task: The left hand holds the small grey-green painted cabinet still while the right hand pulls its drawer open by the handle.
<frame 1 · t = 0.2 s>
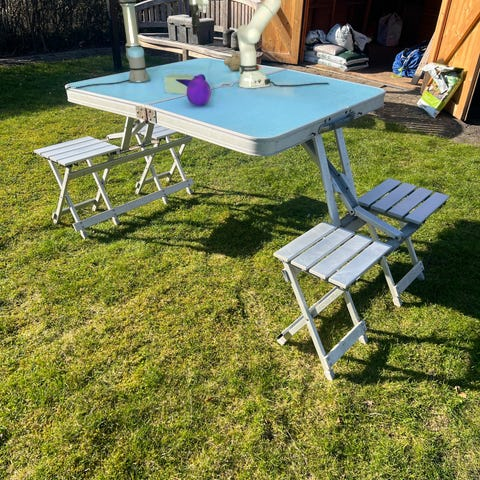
left hand: (196, 35, 349), 28 cm above the table, tool pointing down, fingers open, 13 cm apart
right hand: (202, 12, 285), 48 cm above the table, tool pointing down, fingers open, 8 cm apart
cabinet: (182, 91, 305), on the table
teapot: (235, 70, 370), on the table
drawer: (189, 84, 301), point 5 cm above the table, slide at 0.5 cm
toy: (195, 103, 276), on the table
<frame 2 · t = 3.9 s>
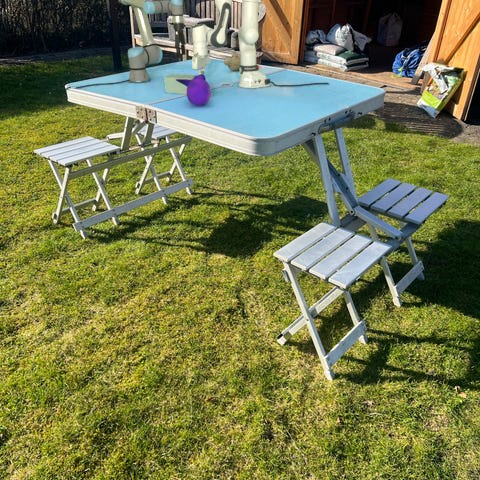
left hand: (181, 56, 315), 19 cm above the table, tool pointing down, fingers open, 13 cm apart
right hand: (201, 74, 294), 12 cm above the table, tool pointing down, fingers open, 3 cm apart
nothing on the table moved.
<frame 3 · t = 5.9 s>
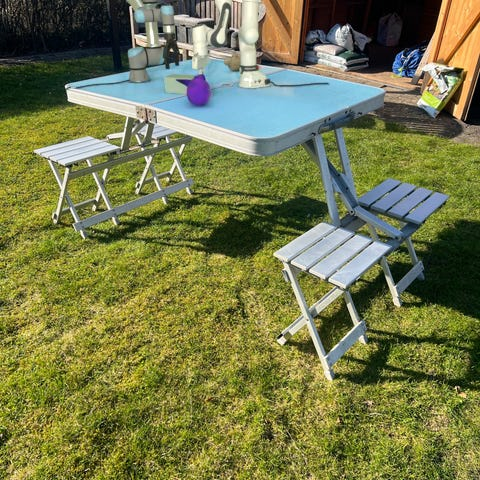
left hand: (172, 67, 300), 15 cm above the table, tool pointing down, fingers open, 13 cm apart
right hand: (201, 74, 294), 12 cm above the table, tool pointing down, fingers closed
nothing on the table moved.
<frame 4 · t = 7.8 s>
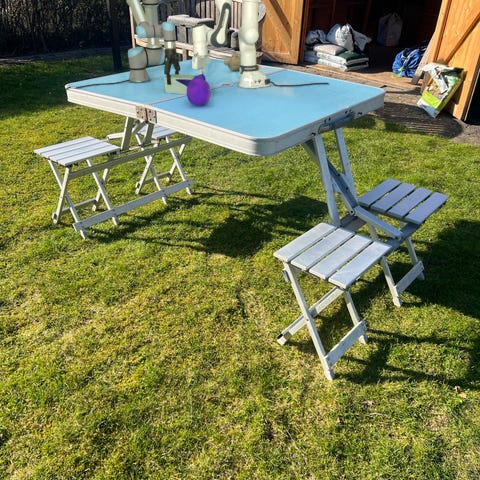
left hand: (173, 82, 304), 6 cm above the table, tool pointing down, fingers closed on cabinet, 11 cm apart
right hand: (201, 74, 294), 12 cm above the table, tool pointing down, fingers closed
cabinet: (182, 91, 305), on the table, touching left hand
everything else where it was.
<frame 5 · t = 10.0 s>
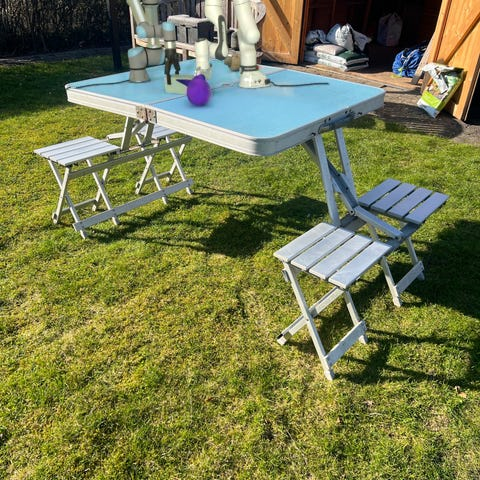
left hand: (173, 82, 304), 6 cm above the table, tool pointing down, fingers closed on cabinet, 11 cm apart
right hand: (203, 87, 298), 4 cm above the table, tool pointing down, fingers closed, pressing on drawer
cabinet: (182, 91, 305), on the table, touching left hand
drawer: (189, 84, 300), point 5 cm above the table, slide at 1.0 cm, touching right hand
everything else where it was.
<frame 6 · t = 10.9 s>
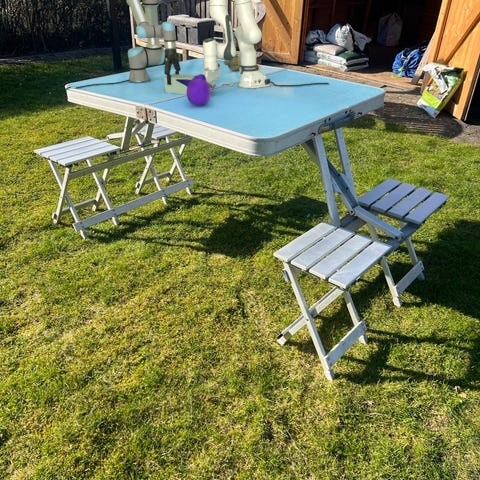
left hand: (173, 82, 304), 6 cm above the table, tool pointing down, fingers closed on cabinet, 11 cm apart
right hand: (211, 88, 296), 4 cm above the table, tool pointing down, fingers closed, pressing on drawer
cabinet: (183, 91, 305), on the table, touching left hand
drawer: (197, 85, 299), point 5 cm above the table, slide at 6.5 cm, touching right hand
everything else where it was.
when the left hand's fingers open (6 cm above the table, at t = 12.9 s): cabinet stays where it is, on the table.
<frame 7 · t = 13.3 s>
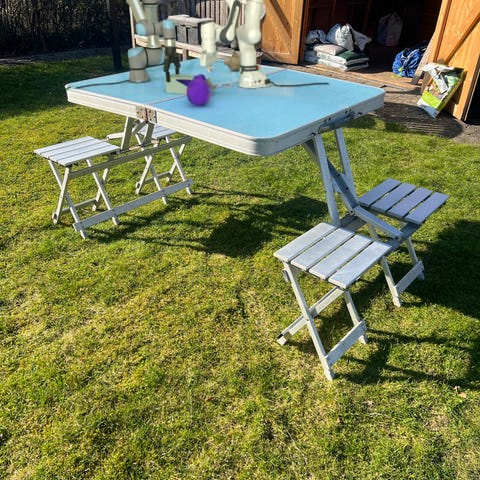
left hand: (173, 80, 303), 7 cm above the table, tool pointing down, fingers open, 13 cm apart
right hand: (209, 72, 291), 14 cm above the table, tool pointing down, fingers closed
cabinet: (183, 91, 305), on the table
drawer: (199, 85, 298), point 5 cm above the table, slide at 7.1 cm
everything else where it was.
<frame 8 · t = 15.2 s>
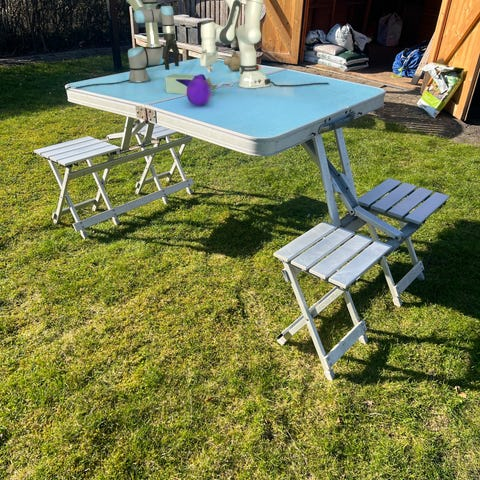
left hand: (172, 68, 299), 15 cm above the table, tool pointing down, fingers open, 13 cm apart
right hand: (209, 72, 291), 14 cm above the table, tool pointing down, fingers closed
nothing on the table moved.
at the end: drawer slide at 7.1 cm; cabinet tilted 0°; cabinet never tilted more than 3° during the clip; cabinet moved 0.6 cm from its start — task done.
